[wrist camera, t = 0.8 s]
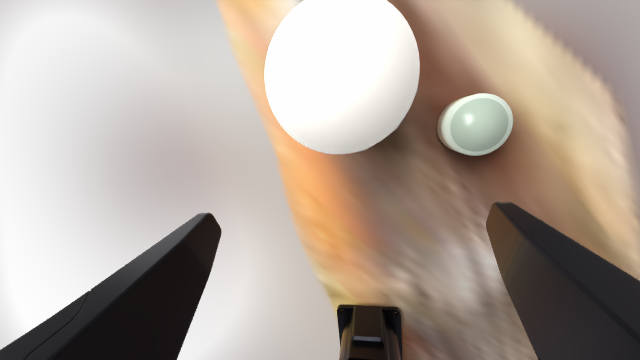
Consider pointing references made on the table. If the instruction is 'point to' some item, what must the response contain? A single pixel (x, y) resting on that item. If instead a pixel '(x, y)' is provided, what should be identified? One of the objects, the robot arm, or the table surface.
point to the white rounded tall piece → (342, 73)
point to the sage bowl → (475, 124)
